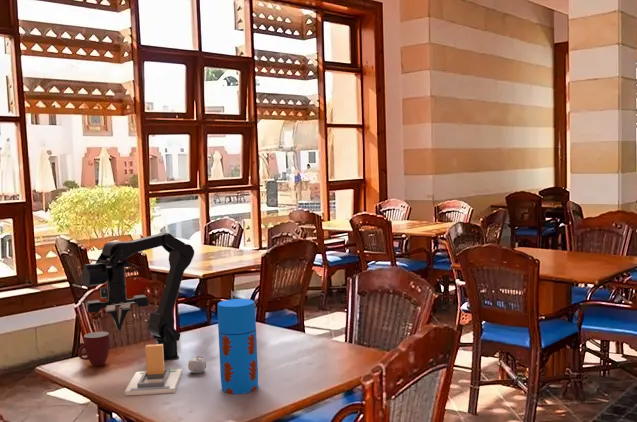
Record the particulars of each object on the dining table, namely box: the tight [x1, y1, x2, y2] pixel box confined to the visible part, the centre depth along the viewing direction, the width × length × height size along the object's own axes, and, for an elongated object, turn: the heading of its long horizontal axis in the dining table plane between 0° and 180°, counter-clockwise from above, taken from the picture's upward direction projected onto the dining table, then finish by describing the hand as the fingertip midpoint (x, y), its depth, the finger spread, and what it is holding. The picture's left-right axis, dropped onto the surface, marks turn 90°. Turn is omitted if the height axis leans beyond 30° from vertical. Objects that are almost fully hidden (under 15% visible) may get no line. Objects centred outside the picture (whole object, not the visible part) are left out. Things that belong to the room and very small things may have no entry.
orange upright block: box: [144, 343, 165, 379], centre depth 208 cm, size 4×5×10 cm
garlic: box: [187, 355, 207, 374], centre depth 216 cm, size 6×5×5 cm
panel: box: [124, 368, 183, 396], centre depth 206 cm, size 18×14×2 cm
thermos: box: [217, 298, 259, 395], centre depth 199 cm, size 11×11×25 cm
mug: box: [77, 331, 111, 367], centre depth 227 cm, size 10×8×10 cm
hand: (119, 330), depth 220 cm, fingers closed
